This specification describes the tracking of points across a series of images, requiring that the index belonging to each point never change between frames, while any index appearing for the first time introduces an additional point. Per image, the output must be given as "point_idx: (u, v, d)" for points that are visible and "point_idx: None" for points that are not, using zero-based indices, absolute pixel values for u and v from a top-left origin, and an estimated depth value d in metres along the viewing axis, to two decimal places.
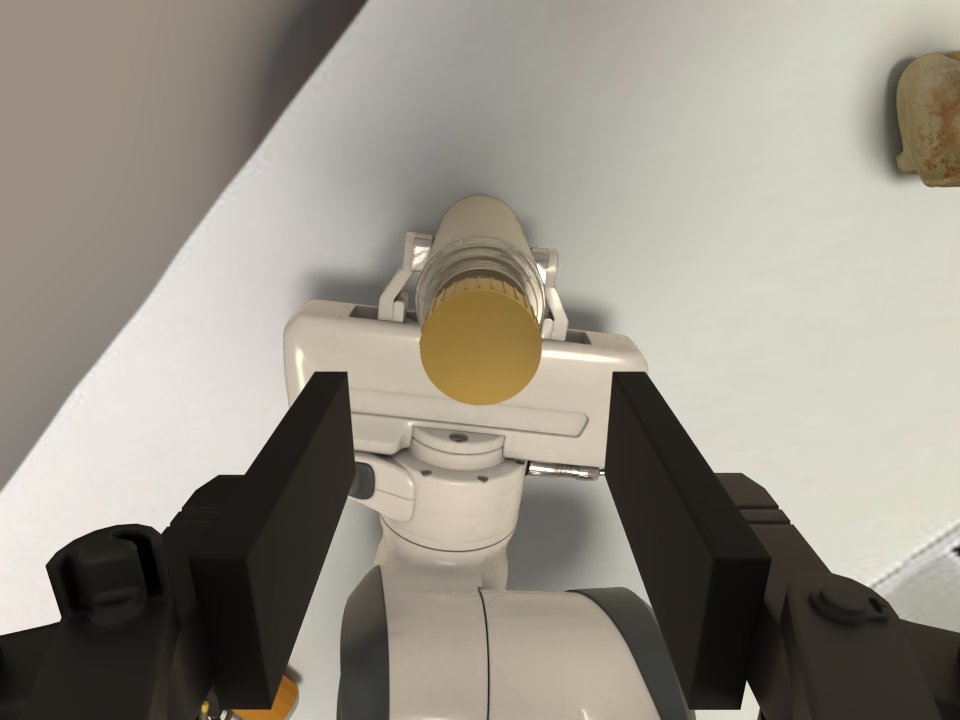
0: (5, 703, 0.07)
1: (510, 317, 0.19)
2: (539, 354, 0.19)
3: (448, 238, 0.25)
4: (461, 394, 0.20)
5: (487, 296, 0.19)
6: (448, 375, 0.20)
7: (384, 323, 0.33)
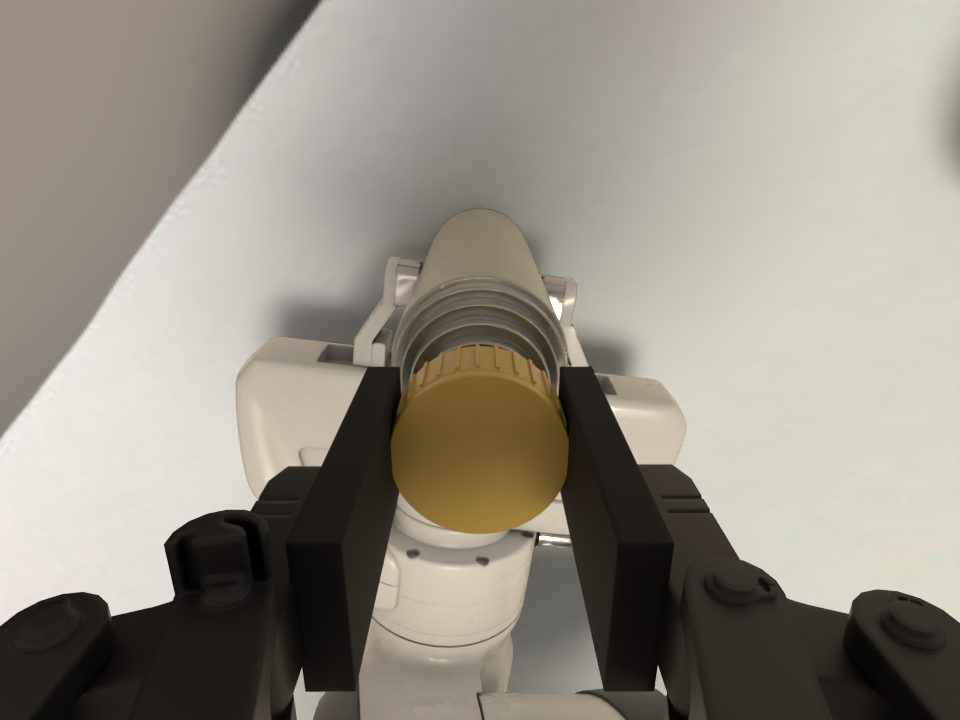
0: (128, 681, 0.07)
1: (524, 412, 0.13)
2: (567, 464, 0.13)
3: (437, 275, 0.19)
4: (451, 520, 0.13)
5: (489, 382, 0.12)
6: (432, 493, 0.13)
7: (360, 370, 0.26)
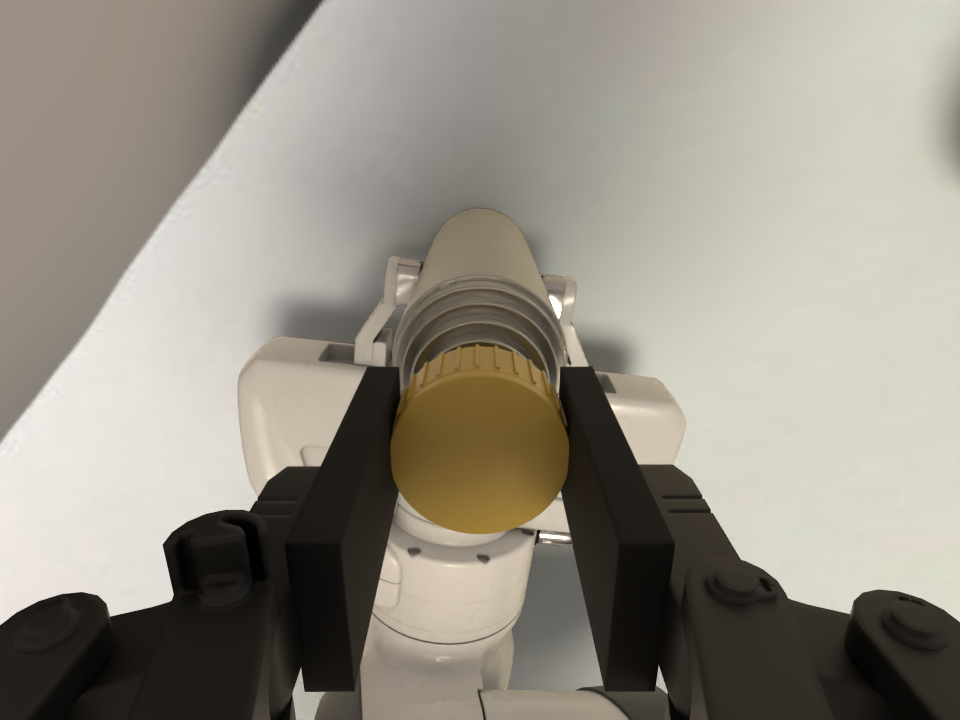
0: (127, 680, 0.07)
1: (413, 466, 0.13)
2: (418, 400, 0.12)
3: (437, 274, 0.19)
4: (552, 430, 0.13)
5: (418, 504, 0.13)
6: (542, 463, 0.13)
7: (361, 369, 0.26)
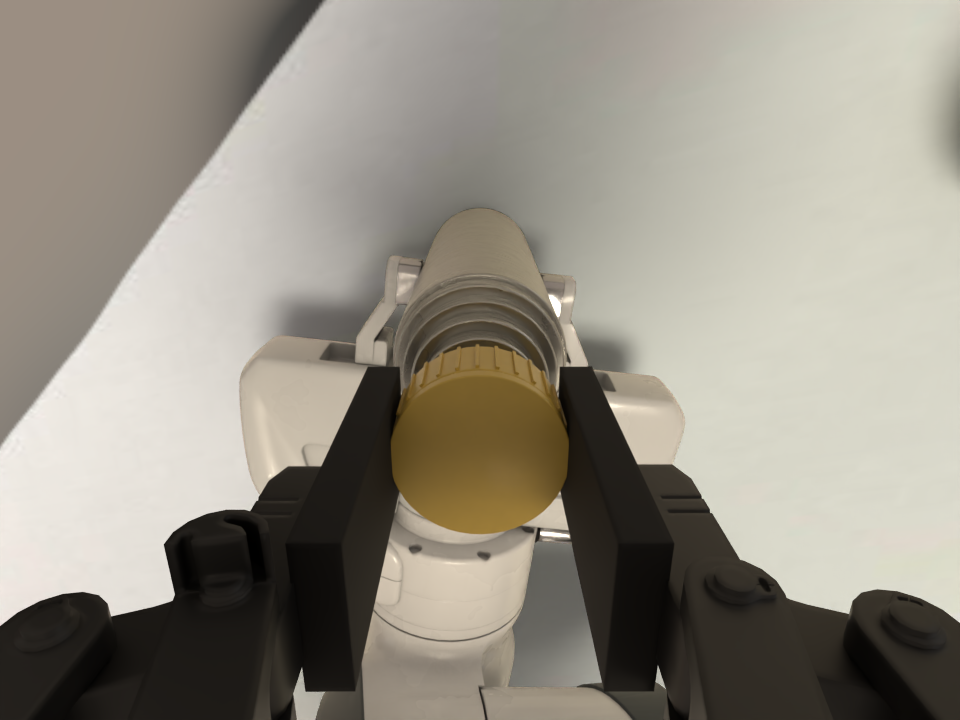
0: (127, 680, 0.07)
1: (532, 493, 0.13)
2: (478, 532, 0.14)
3: (437, 273, 0.19)
4: (404, 436, 0.13)
5: (562, 462, 0.13)
6: (435, 417, 0.13)
7: (362, 368, 0.27)
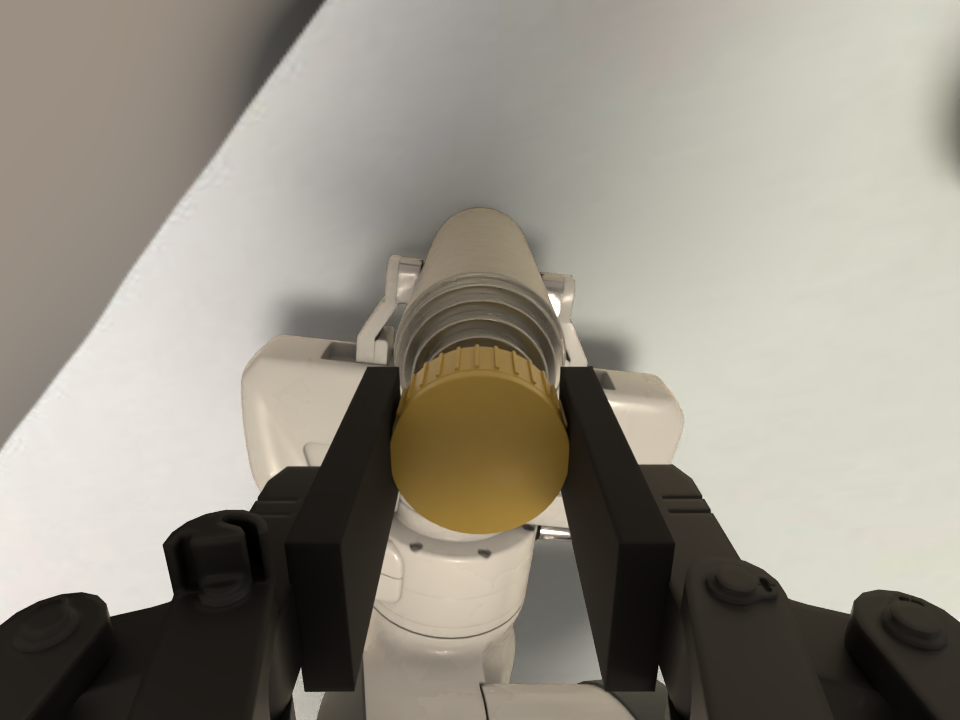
0: (126, 681, 0.07)
1: (467, 399, 0.12)
2: (543, 402, 0.12)
3: (437, 272, 0.19)
4: (514, 517, 0.13)
5: (420, 404, 0.12)
6: (479, 512, 0.13)
7: (363, 367, 0.27)
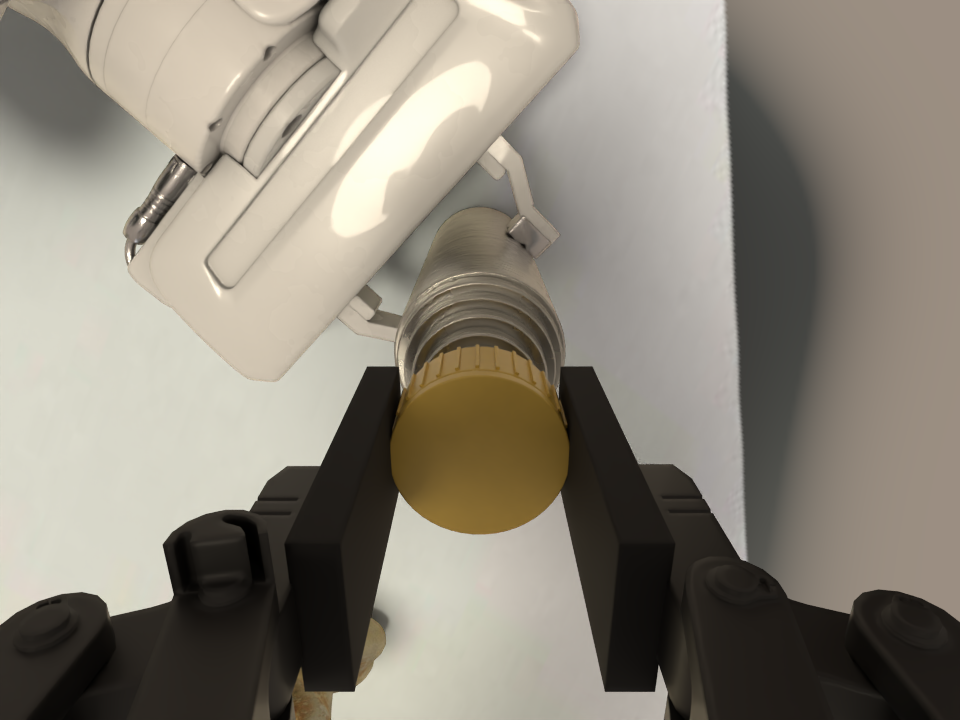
0: (126, 680, 0.07)
1: (468, 399, 0.12)
2: (543, 402, 0.12)
3: None
4: (514, 517, 0.13)
5: (420, 403, 0.12)
6: (478, 512, 0.13)
7: (492, 143, 0.24)
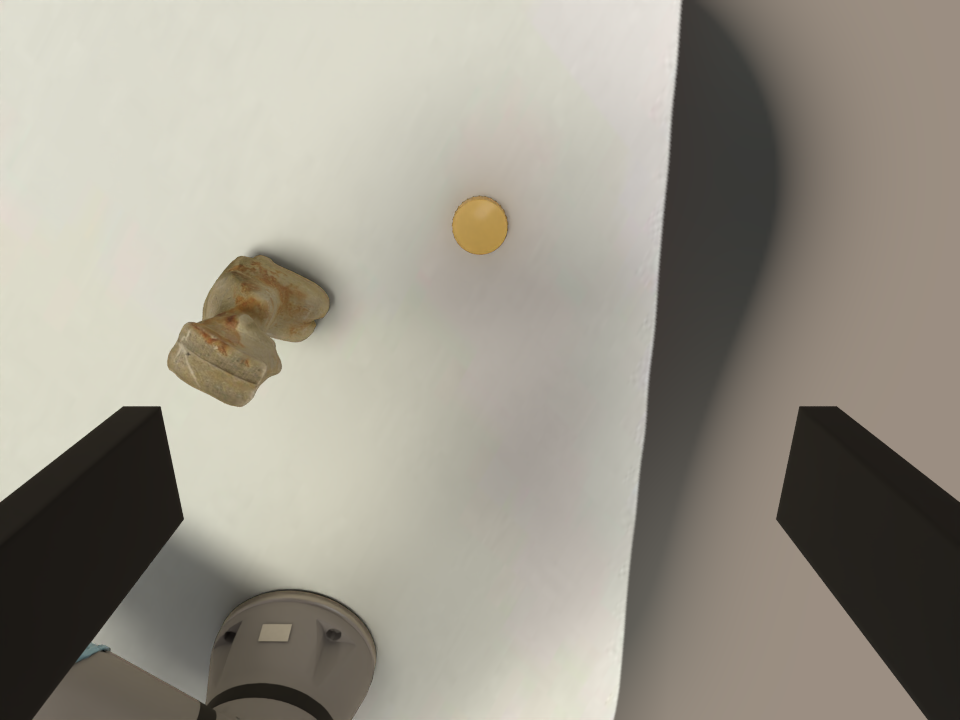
0: None
1: (476, 206, 0.42)
2: (498, 207, 0.42)
3: None
4: (490, 248, 0.43)
5: (462, 208, 0.42)
6: (479, 246, 0.43)
7: None
